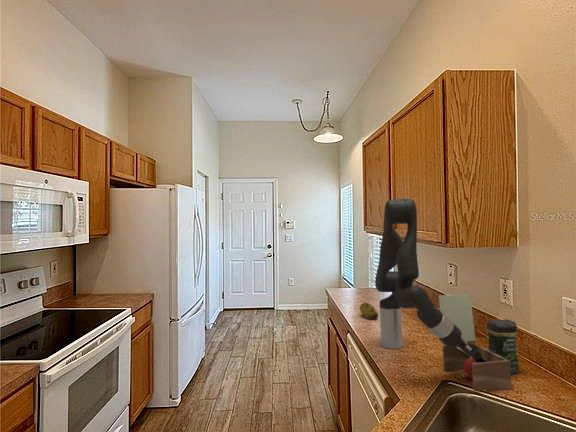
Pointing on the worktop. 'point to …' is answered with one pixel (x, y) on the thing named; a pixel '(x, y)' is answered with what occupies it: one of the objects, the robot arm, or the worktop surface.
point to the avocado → (368, 311)
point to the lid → (459, 314)
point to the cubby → (481, 368)
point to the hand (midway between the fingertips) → (475, 359)
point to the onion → (469, 367)
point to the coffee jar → (504, 341)
